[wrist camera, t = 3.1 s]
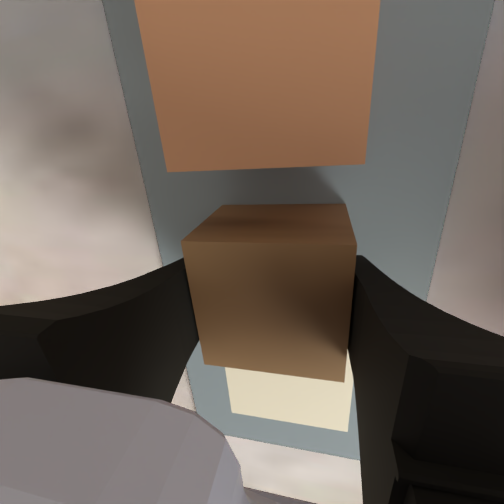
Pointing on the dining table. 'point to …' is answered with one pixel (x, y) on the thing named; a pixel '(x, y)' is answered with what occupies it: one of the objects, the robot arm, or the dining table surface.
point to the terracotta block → (260, 81)
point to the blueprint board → (327, 199)
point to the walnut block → (274, 287)
